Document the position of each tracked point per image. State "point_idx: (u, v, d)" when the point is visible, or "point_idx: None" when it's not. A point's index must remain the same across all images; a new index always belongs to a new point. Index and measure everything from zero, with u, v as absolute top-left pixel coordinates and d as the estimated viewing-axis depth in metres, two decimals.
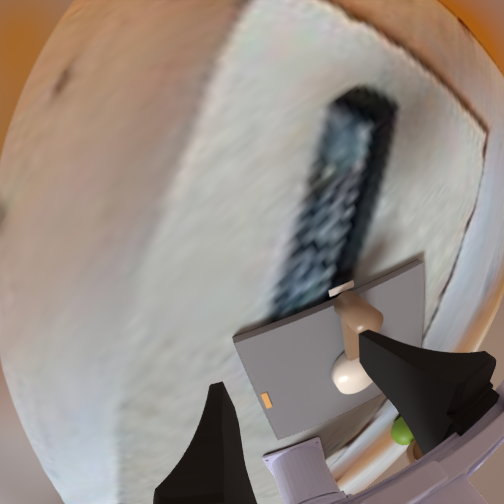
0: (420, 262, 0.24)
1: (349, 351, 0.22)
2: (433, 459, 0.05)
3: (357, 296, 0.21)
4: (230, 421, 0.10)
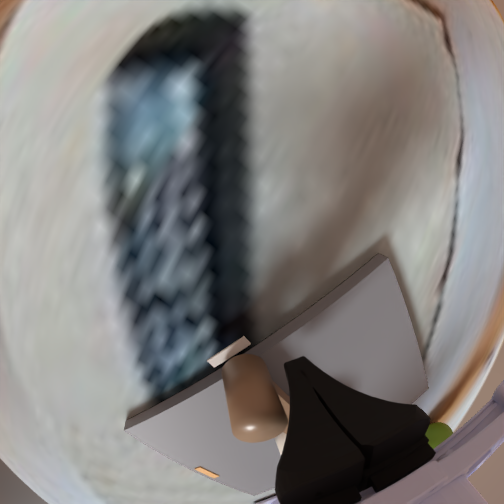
0: (382, 259, 0.14)
1: None
2: (433, 459, 0.05)
3: (244, 370, 0.12)
4: None
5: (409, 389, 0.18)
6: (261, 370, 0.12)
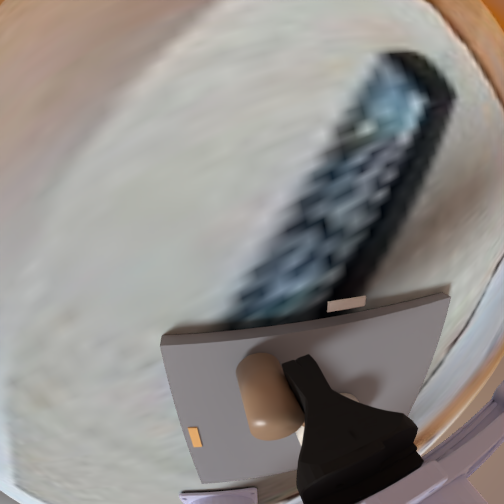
0: (446, 296, 0.17)
1: None
2: (433, 459, 0.05)
3: (257, 369, 0.12)
4: None
5: None
6: (274, 368, 0.12)
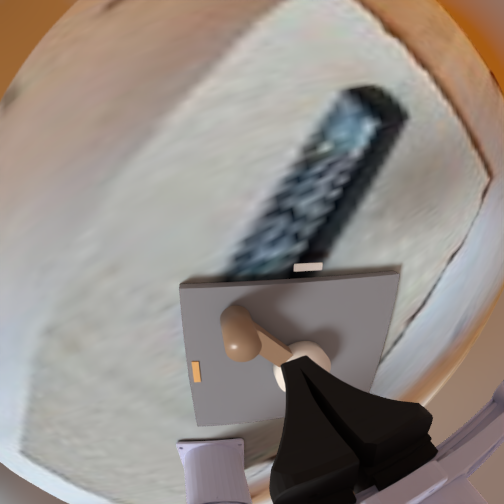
0: (396, 273, 0.24)
1: (269, 360, 0.21)
2: (433, 459, 0.05)
3: (231, 314, 0.19)
4: None
5: (359, 384, 0.27)
6: (242, 313, 0.20)
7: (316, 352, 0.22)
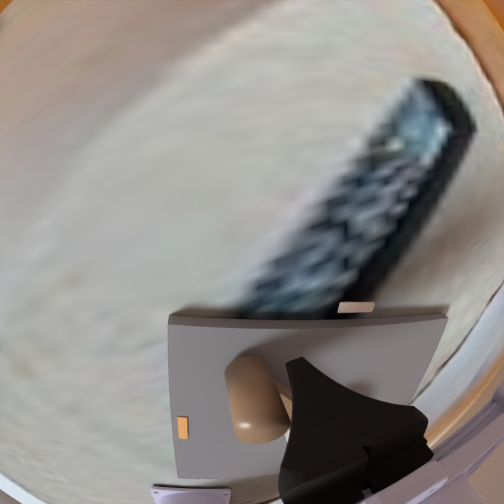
0: (444, 316, 0.17)
1: None
2: (433, 459, 0.05)
3: (245, 373, 0.12)
4: None
5: None
6: (262, 371, 0.12)
7: None
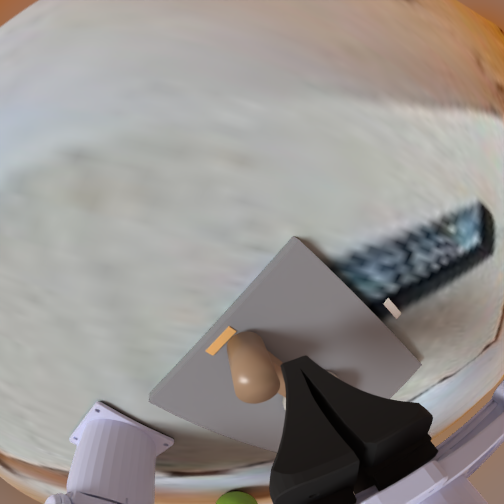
0: (419, 362, 0.22)
1: (282, 394, 0.17)
2: (433, 459, 0.05)
3: (242, 344, 0.15)
4: None
5: None
6: (256, 343, 0.15)
7: None
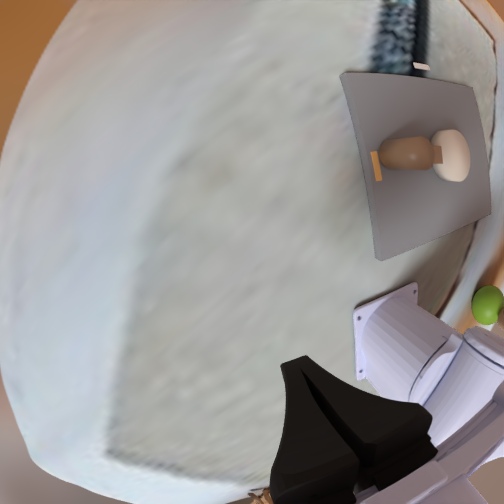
0: (470, 87, 0.20)
1: (434, 163, 0.19)
2: (433, 459, 0.05)
3: (389, 147, 0.17)
4: None
5: (484, 194, 0.23)
6: (393, 140, 0.17)
7: (449, 131, 0.18)
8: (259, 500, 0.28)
